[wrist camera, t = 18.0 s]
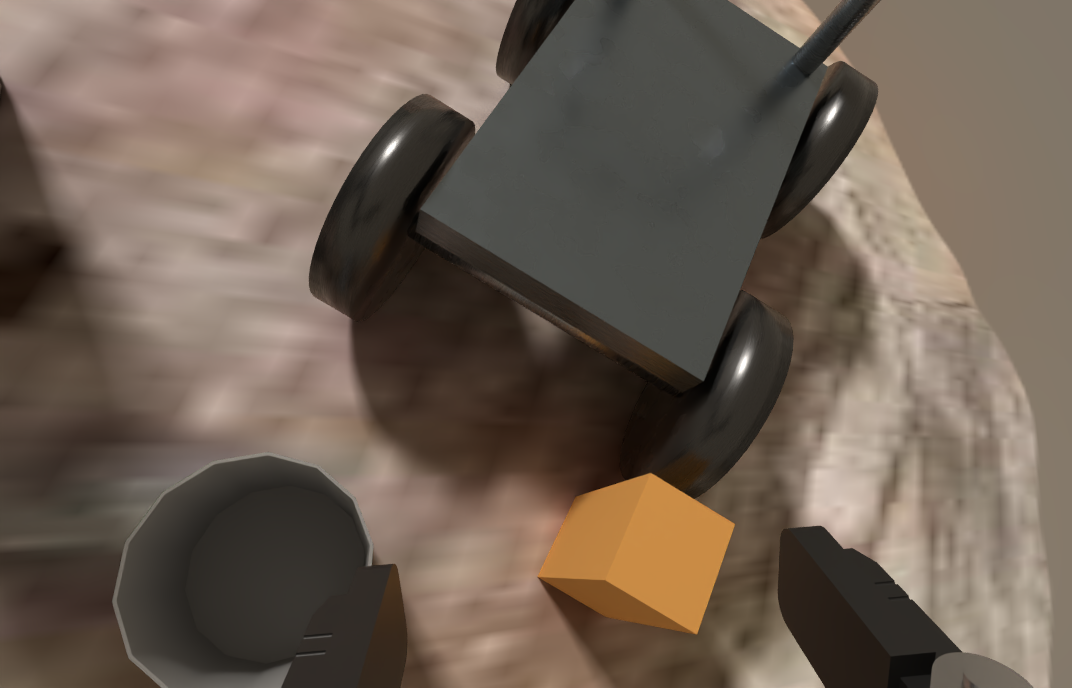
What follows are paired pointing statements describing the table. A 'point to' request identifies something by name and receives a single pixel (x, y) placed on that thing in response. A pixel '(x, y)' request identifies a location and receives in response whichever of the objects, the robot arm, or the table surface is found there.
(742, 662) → the table surface
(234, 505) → the cup
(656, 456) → the trolley
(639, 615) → the orange rectangular block
